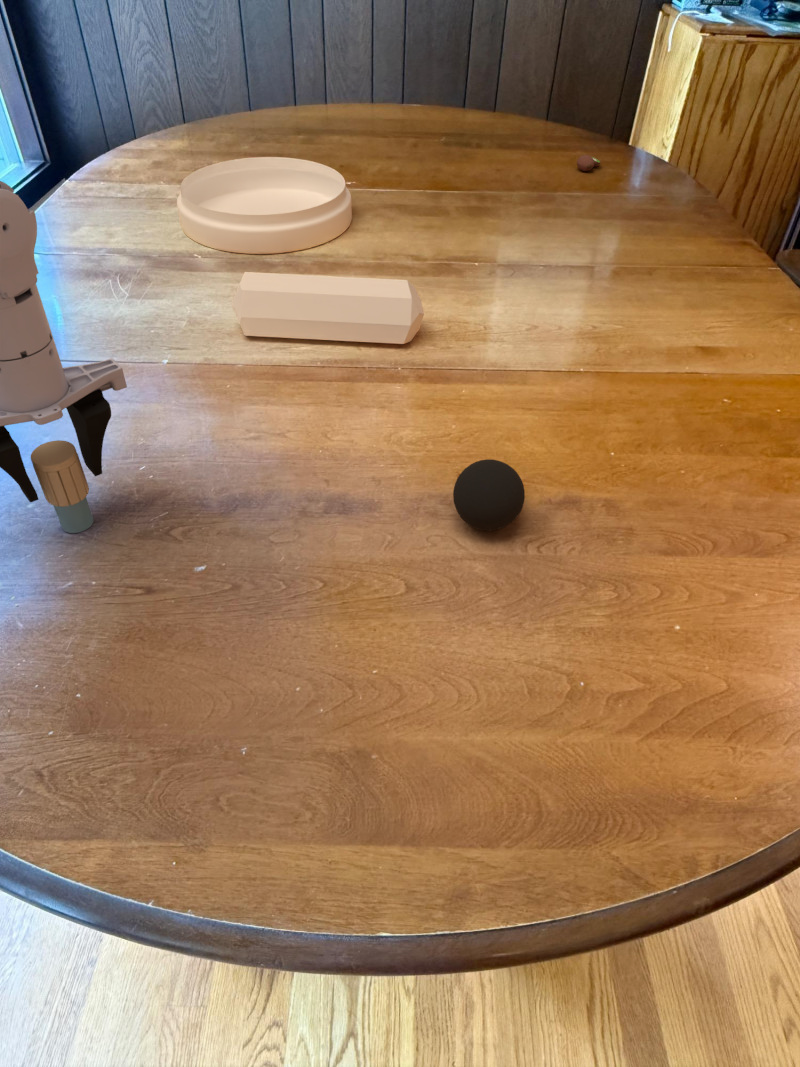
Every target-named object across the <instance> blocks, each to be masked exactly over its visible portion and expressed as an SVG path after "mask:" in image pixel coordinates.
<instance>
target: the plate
mask: <svg viewBox="0 0 800 1067" xmlns="http://www.w3.org/2000/svg"><path fill="white" fill-rule="evenodd" d="M179 191H180V193H179V194H178V196H177V199H176V208H177V213H178V219H179V225H180V228H181V230H182V232H183V233H184V234H185V235H186V236H187V237H188V238H189V239H191V240H192V241H194V242H196V243H197V244H200V245H202V246H205V247H208V248H211V249H215V250H218V251H223V252H228V253H235V254H248V255H269V254H270V255H272V254H283V253H292V252H297V251H302V250H307V249H310V248H315V247H318V246H320V245H324V244H326V243H328V242H330V241H333V240H334V239H336V238H338V237H340V236H341V235H342V234H343V233H344V232H346V231H347V229H348V228H349V227H350V225H351V223H352V219H353V210H352V208H353V206H352V194H351V192H350V190H349V189H348V187H347V186H346V180H345V178H344V176H343V175H342V174H341V173H340V172H339V171H337V170H336V169H334V168H332V167H330V166H328V165H326V164H324V163H323V164H322V163H320V162H316V161H313V160H308V159H302V158H295V157H283V156H257V157H255V156H254V157H243V158H235V159H229V160H224V161H220V162H215V163H212V164H209V165H206V166H203V167H201V168H199V169H196V170H195V171H193V172H191V173H190V174H188V175H187V176H186V177H184V179H183V180H182V181H181V183H180V185H179Z"/></svg>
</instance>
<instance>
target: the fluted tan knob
mask: <svg viewBox="0 0 800 1067" xmlns="http://www.w3.org/2000/svg"><path fill="white" fill-rule="evenodd" d="M30 461H31V464H32V468H33V470H34V472H35V476H36V478H37V479H38V482H39V485H40V487H41V488H40V489H41V490H42V493H43V495H44V498H45V500H46V502H47V503H48V504H49V505H51V506H53V505H54V506H57V507H58V506H59V505H60V507H64V506H69V504H71V505H74V504H76V503H79V502H80V500H81V501H82V500H83V499H84V498H85V497H86V498H87V496H88V495H89V493H90V492H89V491H90V486H89V483H88V481H87V478H86V474H85V472H84V468H83V465H82V463H81V462H82V461H81V459H80V456H79V453H78V452H77V448H76V446H75V445H74V444H73V443H71V442H70V441H68V440H59V439H58V440H51V441H47V442H44V443H42V444H40V445H38V446H37V447H35V449H33V450H32V452H31V454H30ZM54 506H53V507H54Z"/></svg>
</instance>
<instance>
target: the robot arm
mask: <svg viewBox="0 0 800 1067" xmlns="http://www.w3.org/2000/svg"><path fill="white" fill-rule="evenodd" d="M37 237H38V222H37V216H36V212H35V211H34V210H30V209H29V208H28V207H27V206H26V204H25V203H24V201H23V200H22V199H21V197H20V196H19V194H16V193H15V190H14V188H12V187H11V186H10V185H8V184H7V183H6V182H4V181H1V180H0V469H2V470H3V471H4V472H5V473H6V474H8V476H10V478H12V479H13V481H14V482H16V483H17V485H18V486H19V488H20V490H21V492H22V493H23V495H24V496H25V497H26V499H27V500H28V502H29V503H33V502H36V501H38V500H39V496H38V493H37V491H36V489H35V487H34V485H33V483H32V481H31V479H30V477H29V474H28V473H27V470H26V467H25V464H24V462H23V458H22V455H21V451H20V447H19V445H18V444H17V443H16V442H15V441H14V439H13V437H12V436H11V433H10V431H8V429H7V427H6V426H11V425H16V424H17V425H18V424H23V423H29V422H34V424H37V425H40V426H43V425H46V424H49V423H52V422H54V421H58V420H60V419H63V417H64V414H63V411H64V410H65V409H66V410H67V413H68V415H69V416H68V417H69V419H70V420H71V423H72V425H73V428H74V431H75V434H76V438H77V442H78V446H79V450H80V453H81V457H82V460H83V462H84V464H85V466H86V467H87V469H88V470H89V471H90V472H91V473H92V475H93V476H94V477H98V476H100V475H103V464H102V460H103V459H102V458H103V456H102V455H103V445H104V439H105V434H106V431H107V428H108V424H109V422H110V419H111V418H112V408H111V405H110V402H109V401H108V400H107V399H106V398H105V397H104V393H103V392H106V391H108V390H111V389H112V390H113V391H116V392H118V391H120V390H121V391H122V390H123V389H126V388H127V387H128V386H127V381H126V377H125V373H124V370H123V367H122V366H121V365H120V364H119V363H118V362H117V361H116V360H114V359H113V358H108V359H105V360H101V361H97V362H91V363H86V364H85V363H84V364H79V365H72V366H65V367H63V364H62V361H61V358H60V355H59V352H58V349H57V345H56V343H55V342H56V341H55V339H54V337H53V333H52V330H51V326H50V322H49V320H48V317H47V314H46V310H45V307H44V304H43V302H42V298H41V295H40V292H39V288H38V286H37V282H38V277H37V276H38V274H39V270H38V267H37V263H36V259H35V248H36V243H37Z"/></svg>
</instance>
